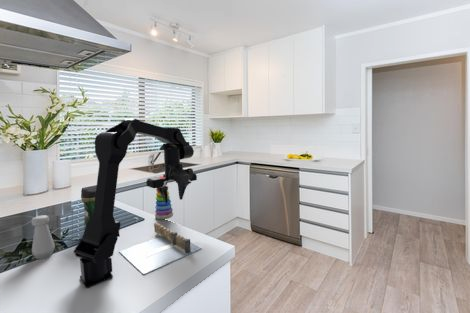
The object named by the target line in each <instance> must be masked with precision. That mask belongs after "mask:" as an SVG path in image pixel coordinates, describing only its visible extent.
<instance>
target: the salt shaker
mask: <svg viewBox="0 0 470 313" xmlns="http://www.w3.org/2000/svg"><path fill="white" fill-rule="evenodd" d="M49 222H50V218H49V216H48V215H46V214H44V215H43V214H42V215H37V216H35V217H33V218H32V219H31V226H32V227H34V228H33V229H34V231H33V237H32V246H31V254H32V256H34V258H35V259H36V260H43V259H46V258H50V256H52V254H54V250H55V248H56V246H55V242H54V239H53V237H52V234H51V231H50V228H49V225H48V224H49Z"/></svg>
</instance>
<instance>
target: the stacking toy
mask: <svg viewBox="0 0 470 313" xmlns="http://www.w3.org/2000/svg"><path fill="white" fill-rule="evenodd" d="M157 177H158V178H162V179H163V178H165V177H163V176H157ZM166 186H168V183H166ZM155 190H156V194H155V195H156V196H155V200H156V201H155V214H154V217H155V219H158V220H168V219H170V218H172V217H173V216H174V212H173V211H174V209H173V207H172V206H173V205H172V203H171V202H172V201H171V199H170V198H171V197H170V192H169V191H168V190H169V188H168V189H167V198H168V202H167V203H165V202H164V200H163V198H162V196H161V194H160V192H159V191H158V189H157V188H155Z"/></svg>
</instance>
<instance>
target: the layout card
mask: <svg viewBox="0 0 470 313" xmlns="http://www.w3.org/2000/svg"><path fill="white" fill-rule="evenodd" d="M190 246H191V252H190V253H186V252H185V250H184V249H182V248H181V247H179V246H177V245H173V244H172V242H171V241H169V240H168V239H166V238H164V237H163V236H161V235H160V236H159V237H156V238H152V239H150V240H146V241H144V242H141V243H138V244H136V245H132V246H129V247H127V248H123V249H122V250H118V253H119V254H120V255H121V256H123V257H124V258H125V259H126V260H127V261H128V262H129V263H130V264H131V265H133V267H134V268H136V270H138V271H139V272H140V273H141V275H143V276H145V275H147V274H149V273H151V272H154V271H157V270H158V269H161V268H163V267H165V266H167V265H170V264H172V263H174V262H176V261H178V260H180V259H183V258H185V257H187V256H190V255H192V254H194V253H196V252H199V251H201V250H202V247H200V246H199V245H197V244H195V243H193V242H192V241H190Z"/></svg>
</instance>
